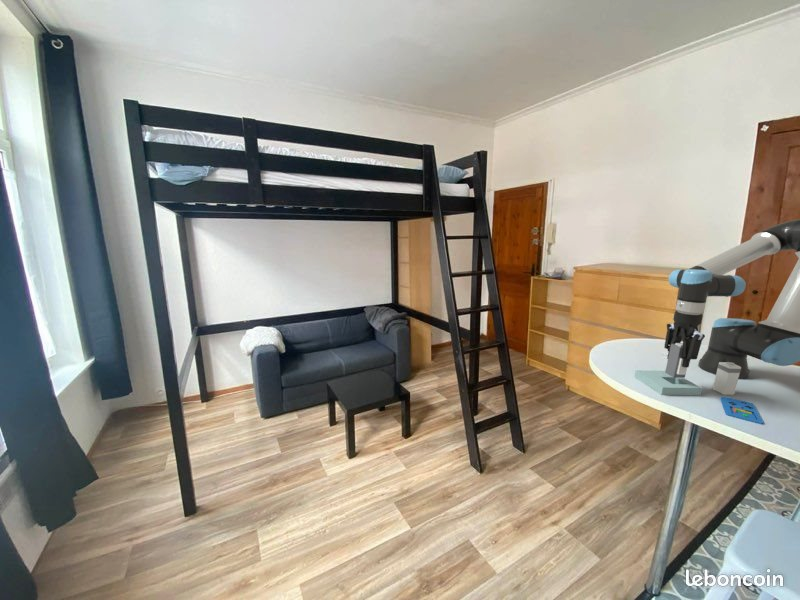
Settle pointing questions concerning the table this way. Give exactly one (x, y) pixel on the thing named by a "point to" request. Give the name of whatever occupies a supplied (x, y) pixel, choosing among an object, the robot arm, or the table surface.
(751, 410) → the handheld gaming device
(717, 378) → the block
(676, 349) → the plug
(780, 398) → the table surface
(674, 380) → the outlet plate
